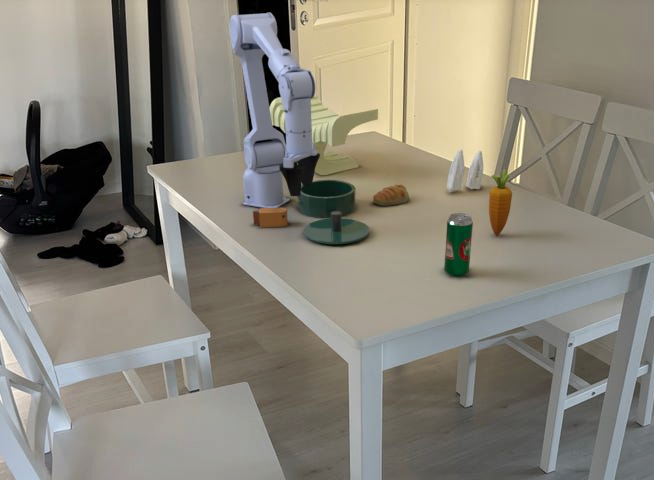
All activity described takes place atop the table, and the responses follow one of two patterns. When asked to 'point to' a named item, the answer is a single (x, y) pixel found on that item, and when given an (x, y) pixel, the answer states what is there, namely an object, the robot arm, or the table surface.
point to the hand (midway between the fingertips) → (301, 190)
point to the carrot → (499, 203)
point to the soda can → (458, 244)
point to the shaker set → (458, 172)
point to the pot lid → (336, 230)
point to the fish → (270, 217)
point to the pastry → (391, 195)
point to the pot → (327, 198)
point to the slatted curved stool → (326, 132)
